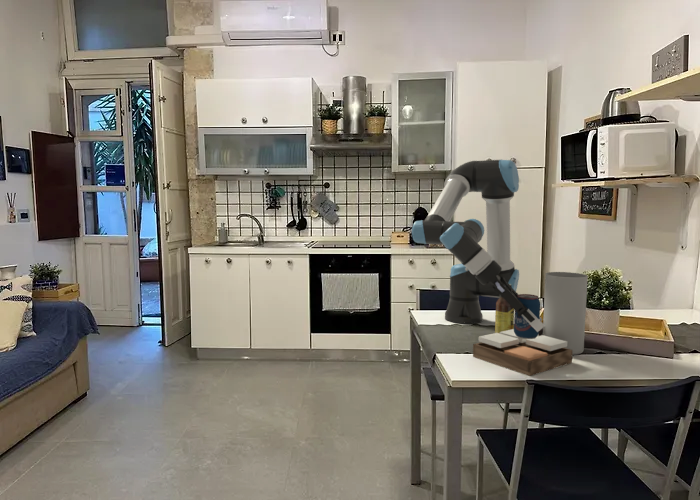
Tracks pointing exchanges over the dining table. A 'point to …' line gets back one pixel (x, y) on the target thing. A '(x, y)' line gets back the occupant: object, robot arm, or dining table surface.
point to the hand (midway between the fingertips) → (539, 325)
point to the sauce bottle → (504, 315)
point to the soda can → (520, 324)
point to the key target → (525, 353)
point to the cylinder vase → (565, 308)
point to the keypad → (519, 364)
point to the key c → (546, 343)
